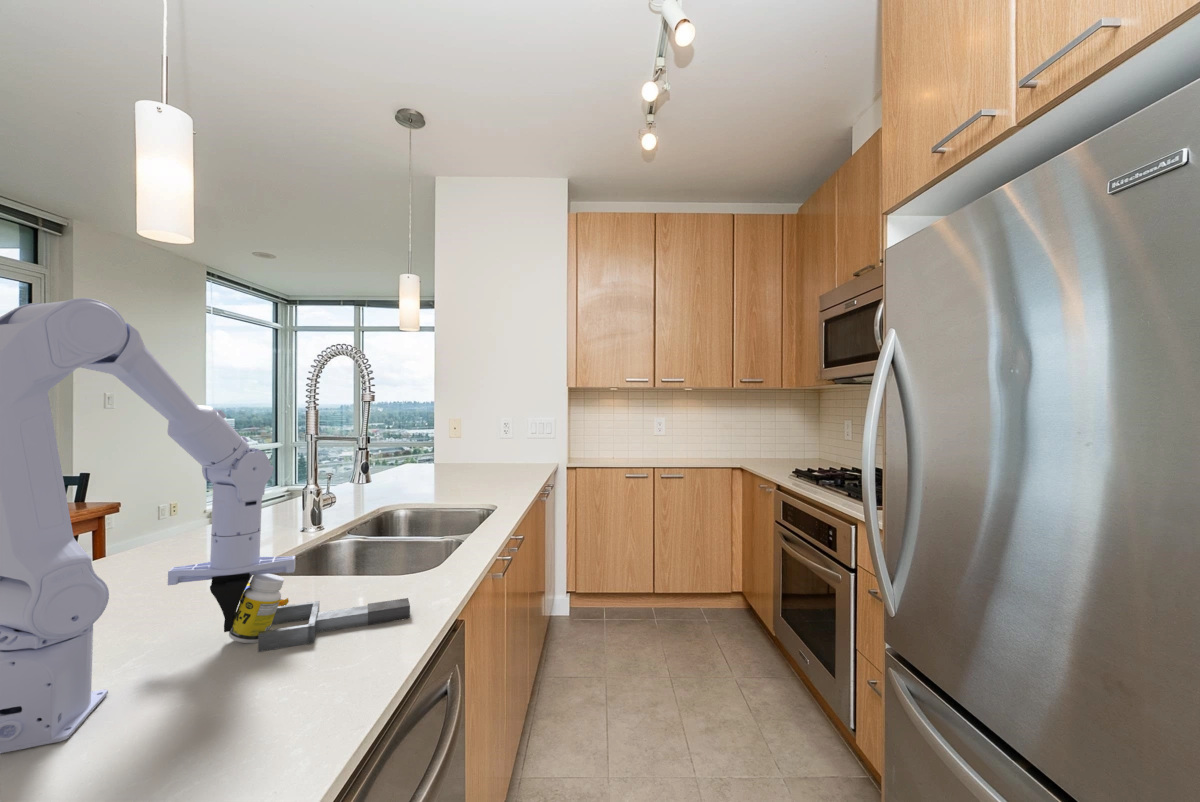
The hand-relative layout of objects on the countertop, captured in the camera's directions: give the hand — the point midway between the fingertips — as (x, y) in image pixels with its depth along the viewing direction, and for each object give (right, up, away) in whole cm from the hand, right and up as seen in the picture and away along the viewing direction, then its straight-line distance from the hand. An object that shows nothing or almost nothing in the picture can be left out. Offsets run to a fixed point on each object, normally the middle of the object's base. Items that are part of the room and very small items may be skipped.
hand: (233, 628), depth 72 cm
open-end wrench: (+12, -2, +5) cm, 14 cm away
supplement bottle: (+2, -2, 0) cm, 2 cm away
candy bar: (-8, -3, +16) cm, 18 cm away
